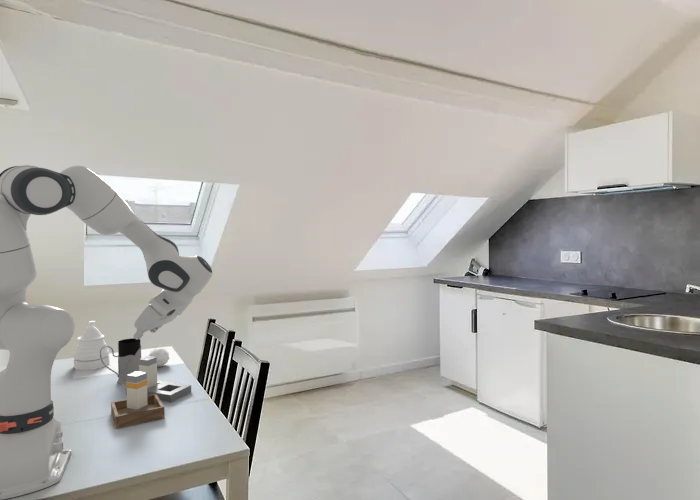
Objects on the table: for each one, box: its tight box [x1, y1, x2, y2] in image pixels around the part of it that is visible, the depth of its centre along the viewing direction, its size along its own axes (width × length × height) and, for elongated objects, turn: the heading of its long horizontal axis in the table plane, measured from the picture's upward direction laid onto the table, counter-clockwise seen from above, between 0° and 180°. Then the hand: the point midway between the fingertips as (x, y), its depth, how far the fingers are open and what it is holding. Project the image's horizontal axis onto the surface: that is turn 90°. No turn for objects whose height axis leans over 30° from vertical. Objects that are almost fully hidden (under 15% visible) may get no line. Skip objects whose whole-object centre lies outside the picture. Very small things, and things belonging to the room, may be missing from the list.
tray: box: [110, 394, 166, 430], centre depth 137 cm, size 13×13×4 cm
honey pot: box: [73, 320, 111, 371], centre depth 187 cm, size 13×13×18 cm
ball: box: [148, 347, 170, 368], centre depth 186 cm, size 8×8×8 cm
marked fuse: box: [125, 371, 148, 413], centre depth 137 cm, size 4×4×12 cm
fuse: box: [139, 355, 158, 389], centre depth 157 cm, size 4×4×12 cm
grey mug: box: [100, 337, 142, 385], centre depth 168 cm, size 9×14×15 cm, turn 112°
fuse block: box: [125, 379, 192, 403], centre depth 155 cm, size 19×10×2 cm, turn 70°
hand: (144, 334), depth 140 cm, fingers open, 8 cm apart
